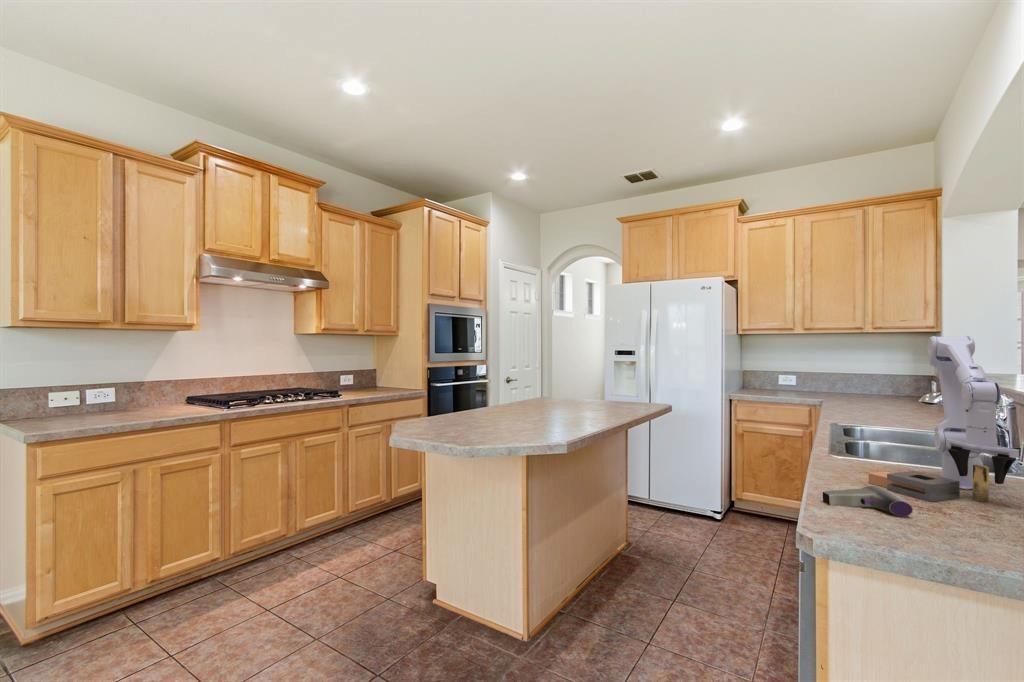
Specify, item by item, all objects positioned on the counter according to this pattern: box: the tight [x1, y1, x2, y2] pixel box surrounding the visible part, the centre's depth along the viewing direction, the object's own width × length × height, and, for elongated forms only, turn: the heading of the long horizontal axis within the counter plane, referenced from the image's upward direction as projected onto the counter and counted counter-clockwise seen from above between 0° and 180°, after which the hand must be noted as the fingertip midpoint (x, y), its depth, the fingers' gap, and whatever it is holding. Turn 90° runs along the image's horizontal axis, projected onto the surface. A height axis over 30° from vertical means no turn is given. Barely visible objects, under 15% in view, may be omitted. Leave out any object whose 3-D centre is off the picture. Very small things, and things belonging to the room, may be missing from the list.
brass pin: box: [972, 464, 990, 503], centre depth 128 cm, size 3×3×9 cm
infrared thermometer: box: [822, 485, 914, 518], centre depth 121 cm, size 5×12×15 cm
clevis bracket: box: [886, 470, 961, 503], centre depth 133 cm, size 11×11×4 cm
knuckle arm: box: [868, 471, 925, 492], centre depth 137 cm, size 7×16×3 cm, turn 18°
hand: (980, 479), depth 127 cm, fingers open, 7 cm apart
